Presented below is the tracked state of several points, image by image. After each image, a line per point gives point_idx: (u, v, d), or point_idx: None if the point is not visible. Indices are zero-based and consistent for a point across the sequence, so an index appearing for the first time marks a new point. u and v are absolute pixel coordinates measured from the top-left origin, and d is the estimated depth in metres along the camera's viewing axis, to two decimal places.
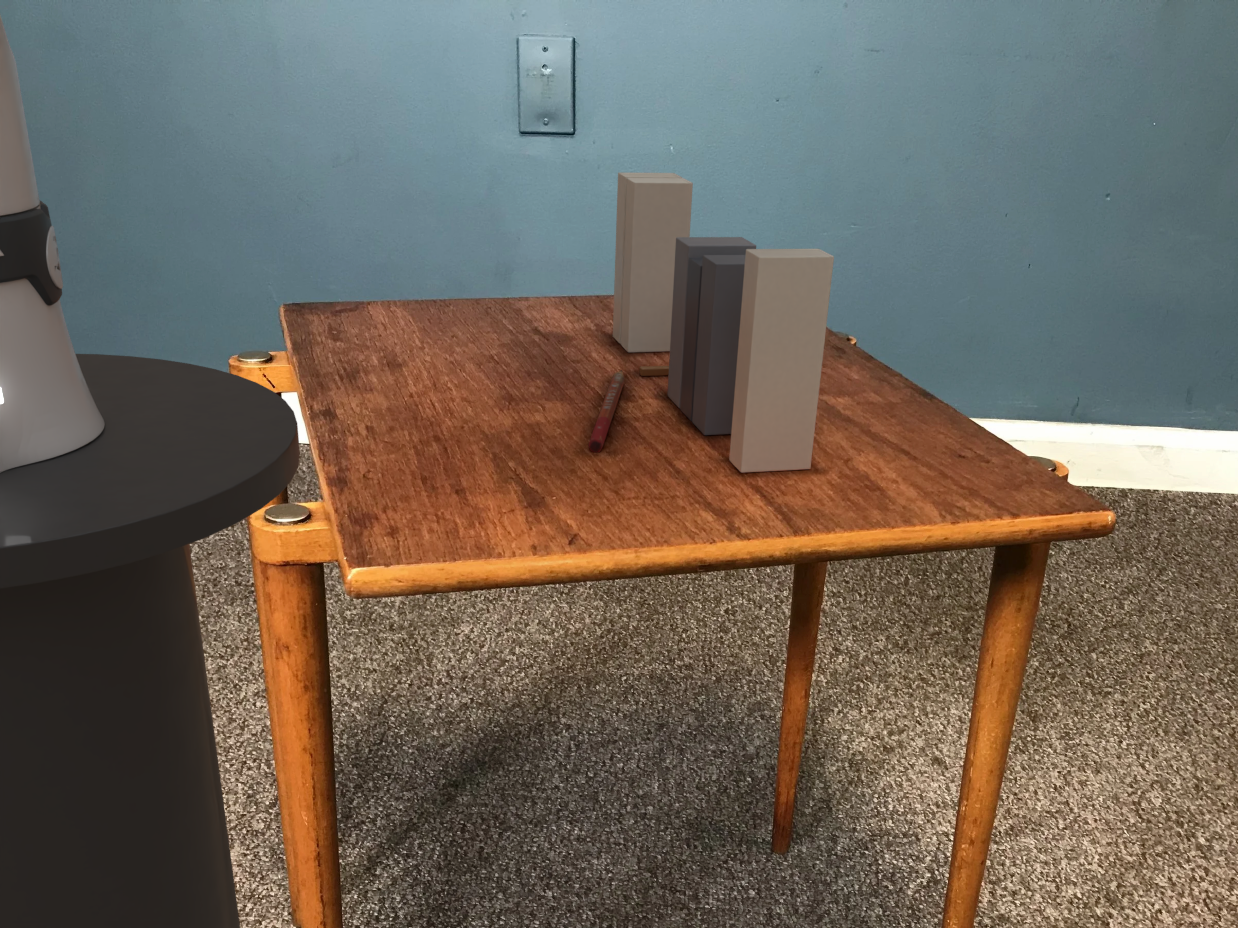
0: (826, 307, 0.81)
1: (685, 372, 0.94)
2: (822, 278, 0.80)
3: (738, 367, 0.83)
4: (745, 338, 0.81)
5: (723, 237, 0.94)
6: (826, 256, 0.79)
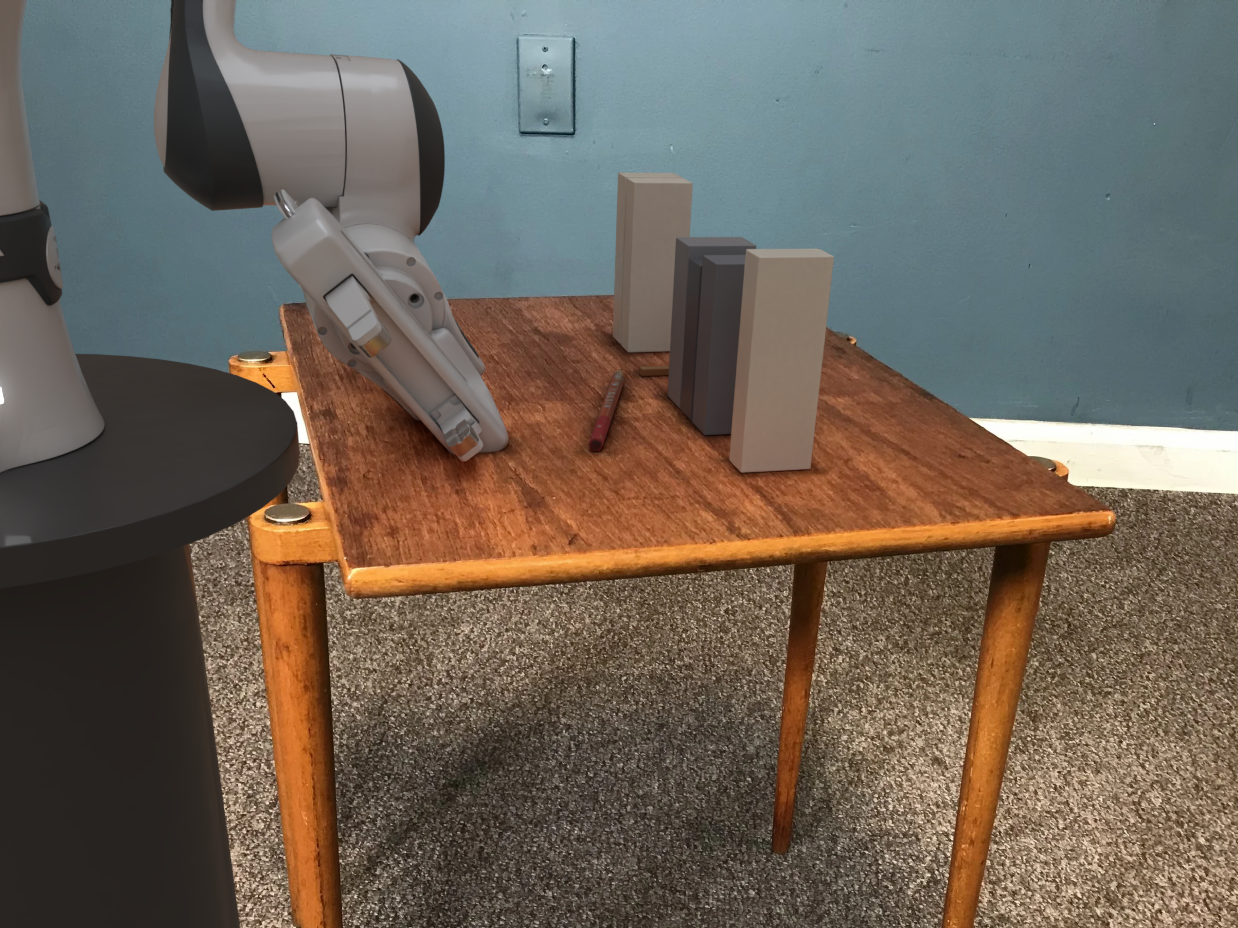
0: (826, 307, 0.81)
1: (685, 372, 0.94)
2: (822, 278, 0.80)
3: (738, 367, 0.83)
4: (745, 338, 0.81)
5: (723, 237, 0.94)
6: (826, 256, 0.79)
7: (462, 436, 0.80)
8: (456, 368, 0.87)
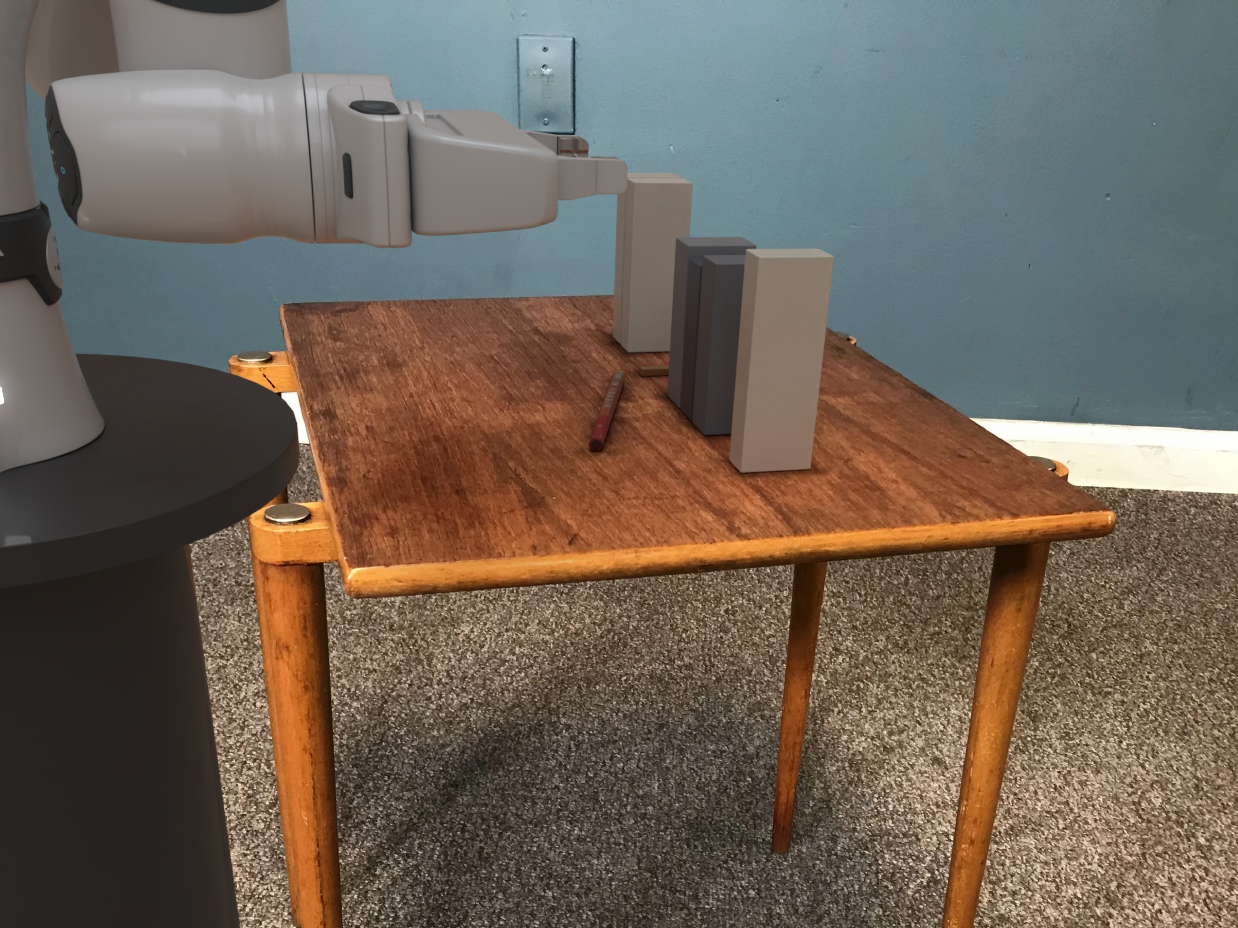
0: (826, 307, 0.81)
1: (685, 372, 0.94)
2: (822, 278, 0.80)
3: (738, 367, 0.83)
4: (745, 338, 0.81)
5: (723, 237, 0.94)
6: (826, 256, 0.79)
7: None
8: None
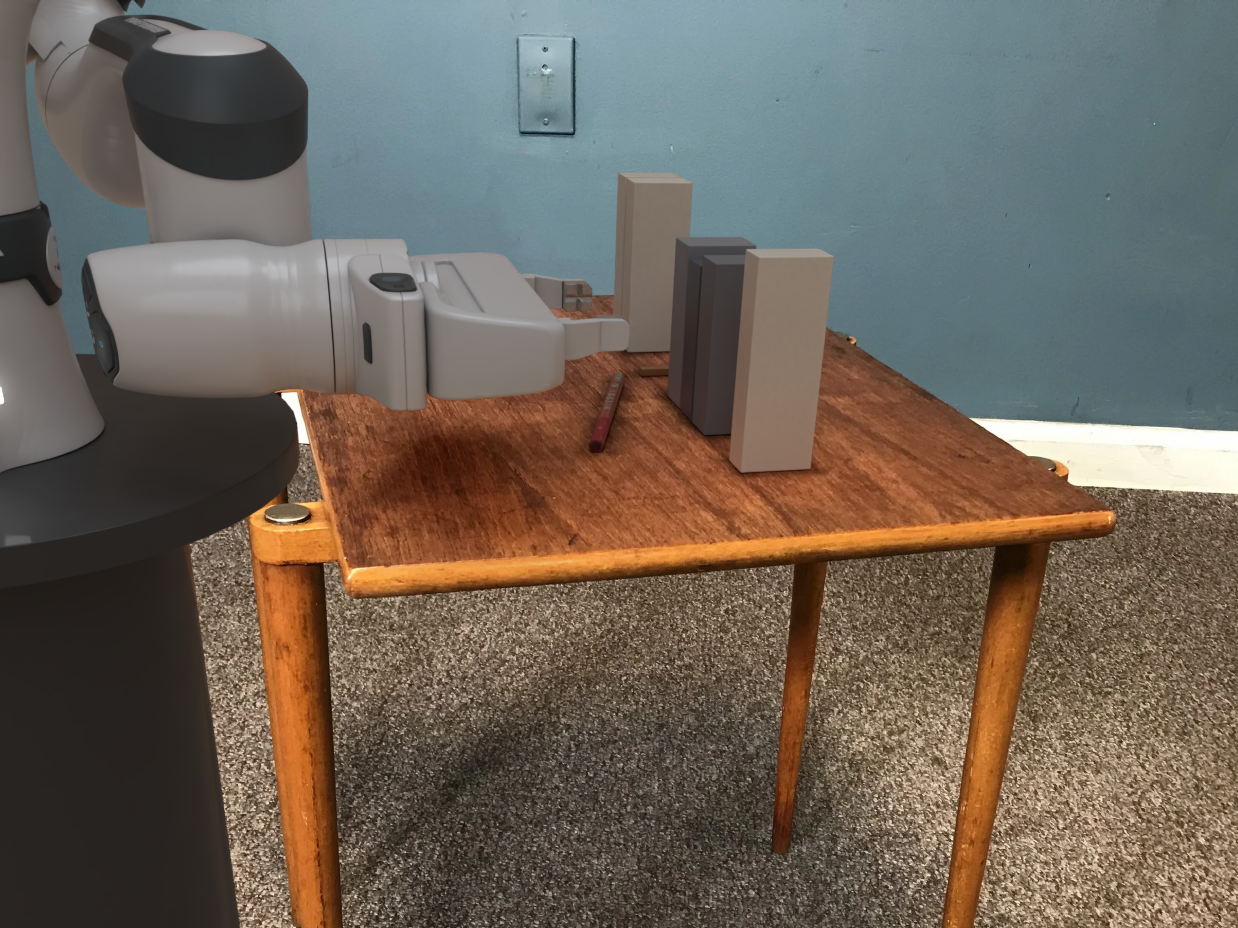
0: (826, 307, 0.81)
1: (685, 372, 0.94)
2: (822, 278, 0.80)
3: (738, 367, 0.83)
4: (745, 338, 0.81)
5: (723, 237, 0.94)
6: (826, 256, 0.79)
7: None
8: None
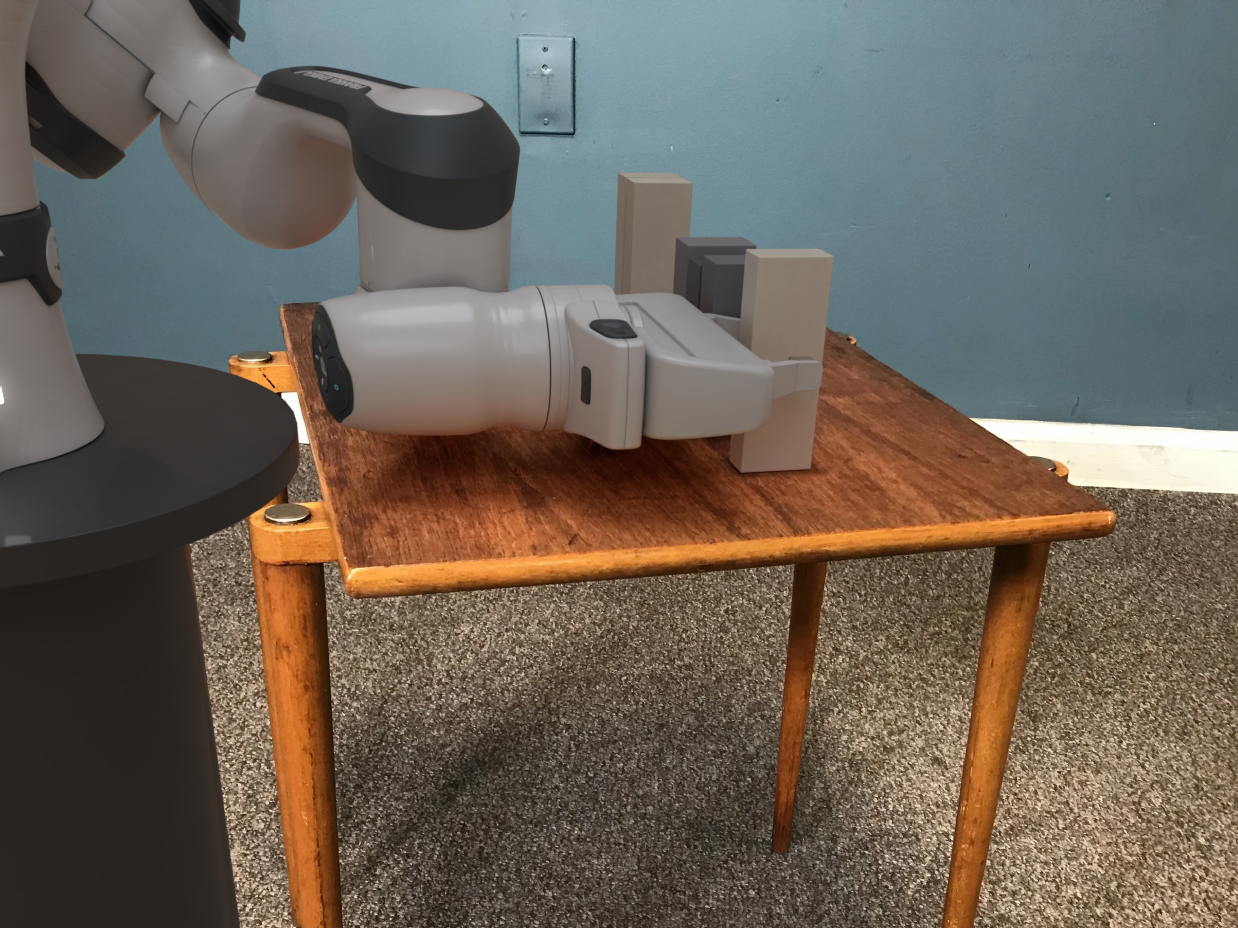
0: (826, 307, 0.81)
1: None
2: (822, 278, 0.80)
3: None
4: (745, 338, 0.81)
5: (723, 237, 0.94)
6: (826, 256, 0.79)
7: None
8: None
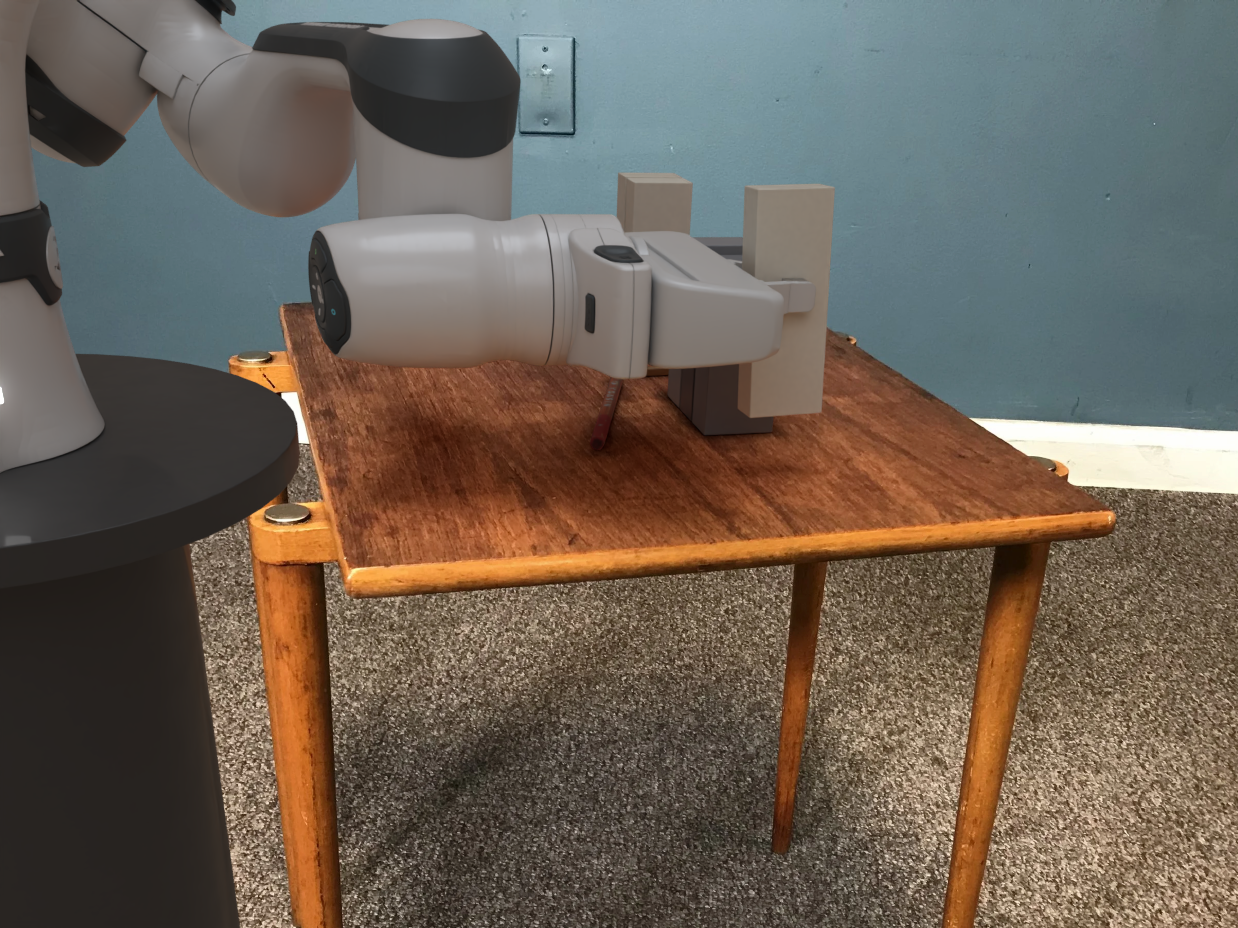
0: (829, 241, 0.79)
1: (685, 372, 0.94)
2: (824, 210, 0.78)
3: None
4: None
5: (723, 237, 0.94)
6: (827, 187, 0.77)
7: None
8: None
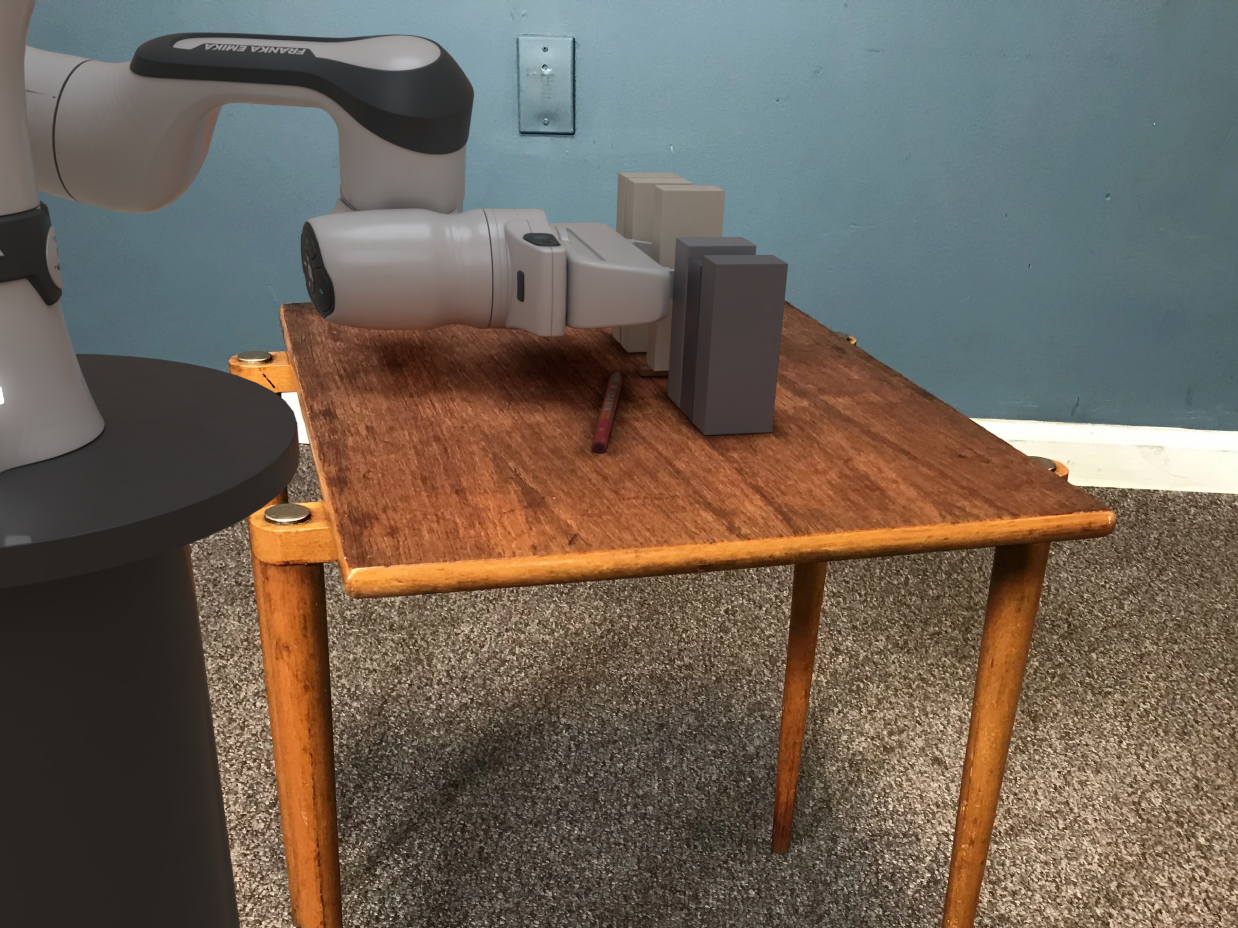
0: (720, 232, 0.99)
1: (685, 372, 0.94)
2: (716, 208, 0.98)
3: None
4: (655, 258, 1.00)
5: (723, 237, 0.94)
6: (718, 190, 0.98)
7: None
8: None
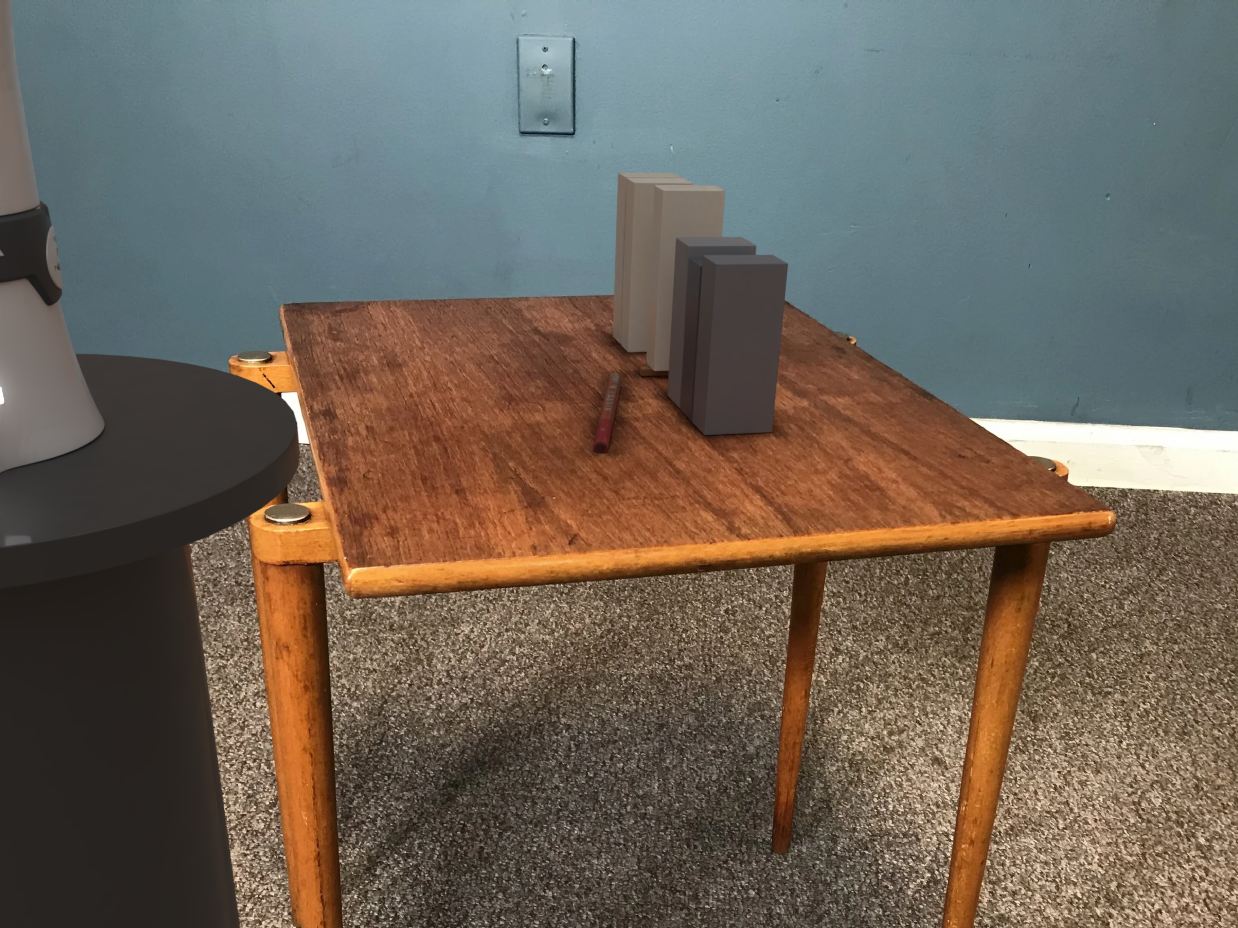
0: (720, 232, 0.99)
1: (685, 372, 0.94)
2: (716, 208, 0.98)
3: (651, 283, 1.02)
4: (655, 258, 1.00)
5: (723, 237, 0.94)
6: (718, 190, 0.98)
7: None
8: None
